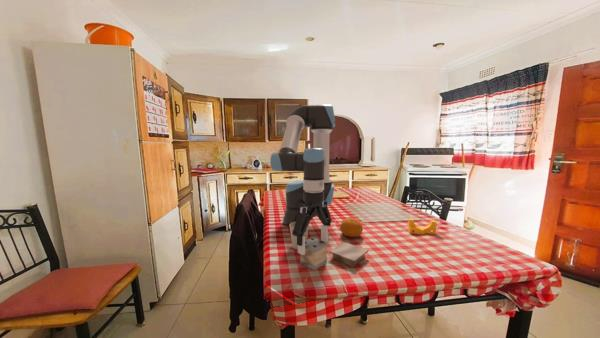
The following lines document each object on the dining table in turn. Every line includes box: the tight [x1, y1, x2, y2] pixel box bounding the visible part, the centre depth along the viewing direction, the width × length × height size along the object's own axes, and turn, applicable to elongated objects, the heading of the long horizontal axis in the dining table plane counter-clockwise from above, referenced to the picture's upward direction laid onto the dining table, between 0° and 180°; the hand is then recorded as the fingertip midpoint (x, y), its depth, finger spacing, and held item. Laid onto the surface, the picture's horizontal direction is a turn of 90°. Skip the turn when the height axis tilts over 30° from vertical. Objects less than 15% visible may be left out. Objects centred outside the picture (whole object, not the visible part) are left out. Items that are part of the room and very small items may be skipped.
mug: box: [288, 222, 310, 251], centre depth 99 cm, size 8×13×10 cm, turn 28°
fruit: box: [339, 217, 364, 238], centre depth 109 cm, size 10×10×8 cm
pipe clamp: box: [407, 217, 437, 235], centre depth 112 cm, size 12×4×6 cm, turn 73°
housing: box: [299, 237, 328, 271], centre depth 84 cm, size 7×7×8 cm
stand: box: [328, 241, 369, 267], centre depth 88 cm, size 11×11×3 cm
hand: (313, 247), depth 83 cm, fingers open, 13 cm apart
